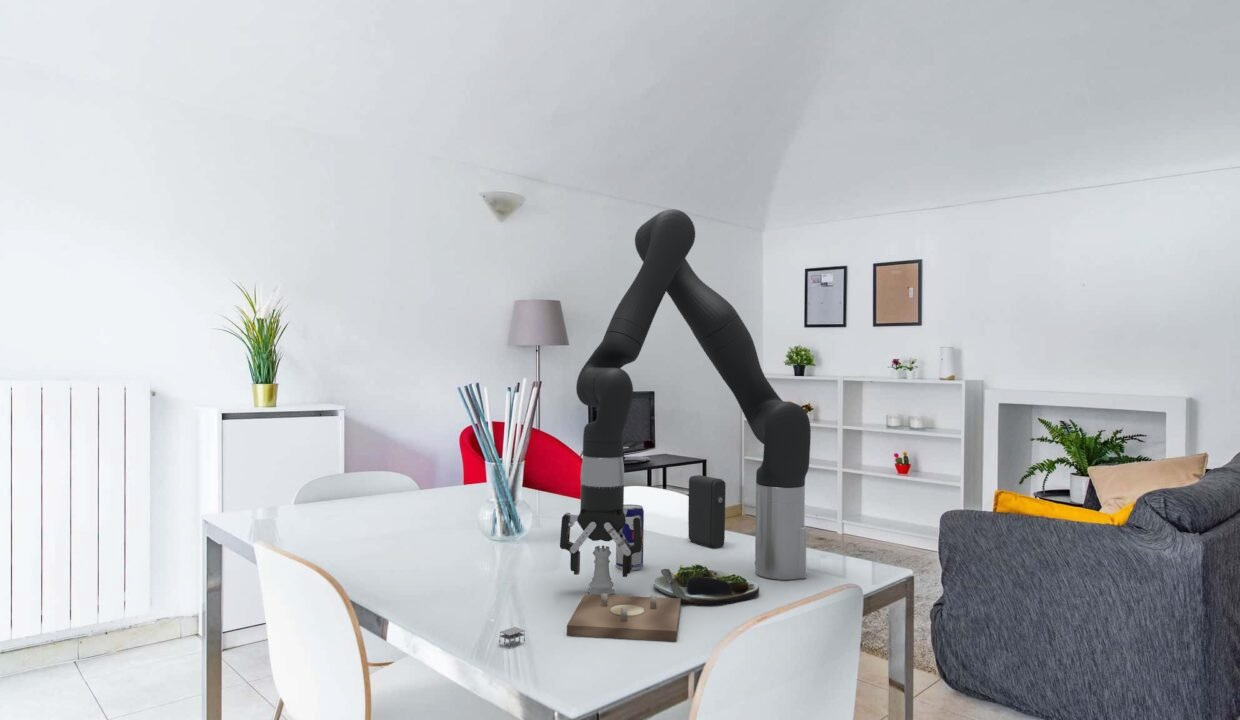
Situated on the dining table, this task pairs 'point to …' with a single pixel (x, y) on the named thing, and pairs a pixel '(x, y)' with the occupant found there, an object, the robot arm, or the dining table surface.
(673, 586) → the salad plate
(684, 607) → the dining table surface
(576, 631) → the pin board
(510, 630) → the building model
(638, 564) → the energy drink
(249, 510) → the dining table surface
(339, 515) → the dining table surface
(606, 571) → the rook chess piece
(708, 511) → the dark grey upright block
